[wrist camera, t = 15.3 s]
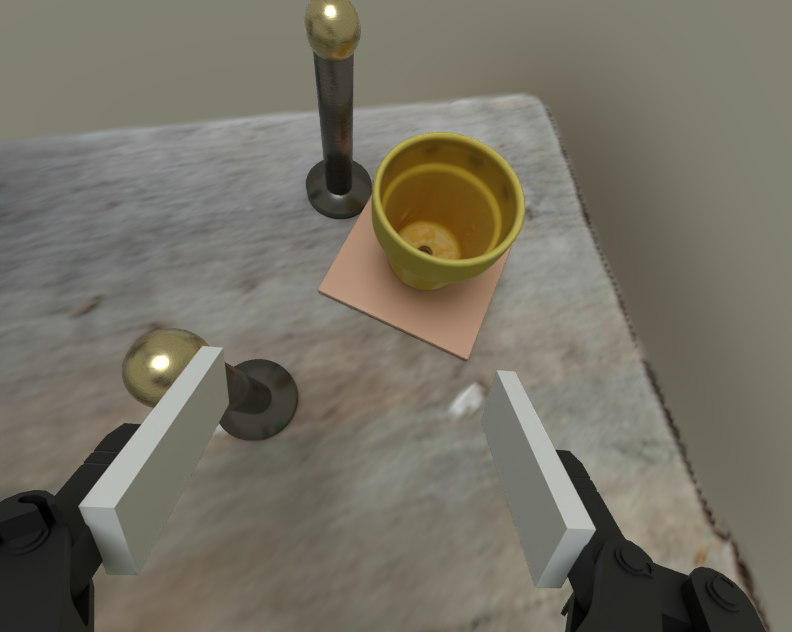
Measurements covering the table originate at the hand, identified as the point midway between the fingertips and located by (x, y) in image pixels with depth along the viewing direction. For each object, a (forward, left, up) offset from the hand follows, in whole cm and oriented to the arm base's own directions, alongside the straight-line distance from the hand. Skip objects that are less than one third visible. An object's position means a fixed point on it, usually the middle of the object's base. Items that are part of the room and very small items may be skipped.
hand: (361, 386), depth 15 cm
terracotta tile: (0, +15, -16) cm, 21 cm away
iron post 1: (-7, -2, -16) cm, 17 cm away
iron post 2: (-10, +18, -16) cm, 26 cm away
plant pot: (0, +14, -15) cm, 21 cm away
